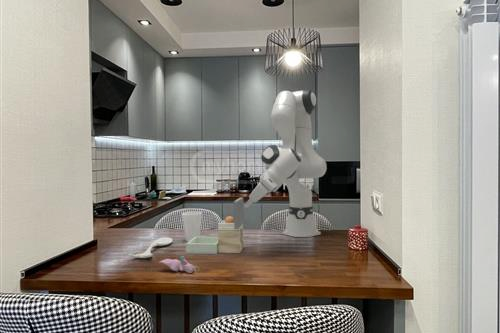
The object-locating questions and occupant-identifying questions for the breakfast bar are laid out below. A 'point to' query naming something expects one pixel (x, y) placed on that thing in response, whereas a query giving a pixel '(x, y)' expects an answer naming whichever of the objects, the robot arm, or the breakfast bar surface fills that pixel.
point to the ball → (229, 219)
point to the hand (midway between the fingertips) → (247, 205)
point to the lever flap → (235, 217)
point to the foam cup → (192, 224)
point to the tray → (202, 245)
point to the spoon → (157, 242)
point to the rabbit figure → (180, 265)
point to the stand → (230, 241)
